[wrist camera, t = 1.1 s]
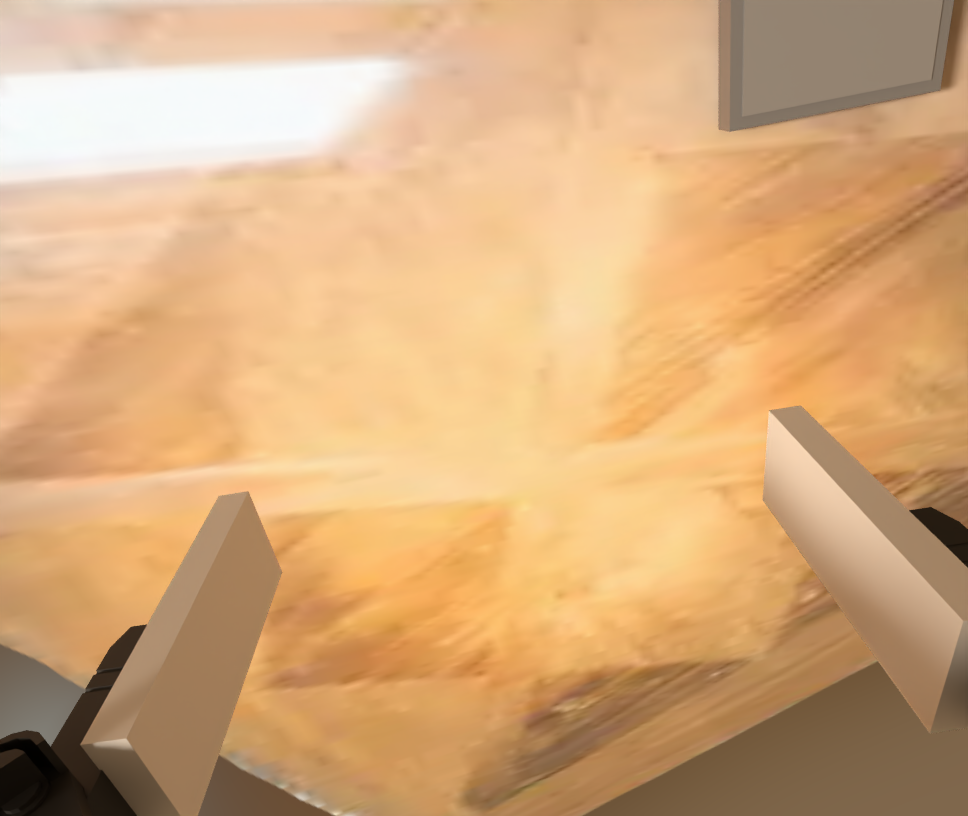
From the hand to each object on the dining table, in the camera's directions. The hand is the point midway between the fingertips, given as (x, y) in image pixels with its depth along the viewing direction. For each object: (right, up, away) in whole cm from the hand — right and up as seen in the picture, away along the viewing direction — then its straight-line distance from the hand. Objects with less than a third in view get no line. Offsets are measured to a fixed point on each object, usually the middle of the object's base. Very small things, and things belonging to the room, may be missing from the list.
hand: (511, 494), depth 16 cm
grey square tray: (+22, +29, +24) cm, 44 cm away
